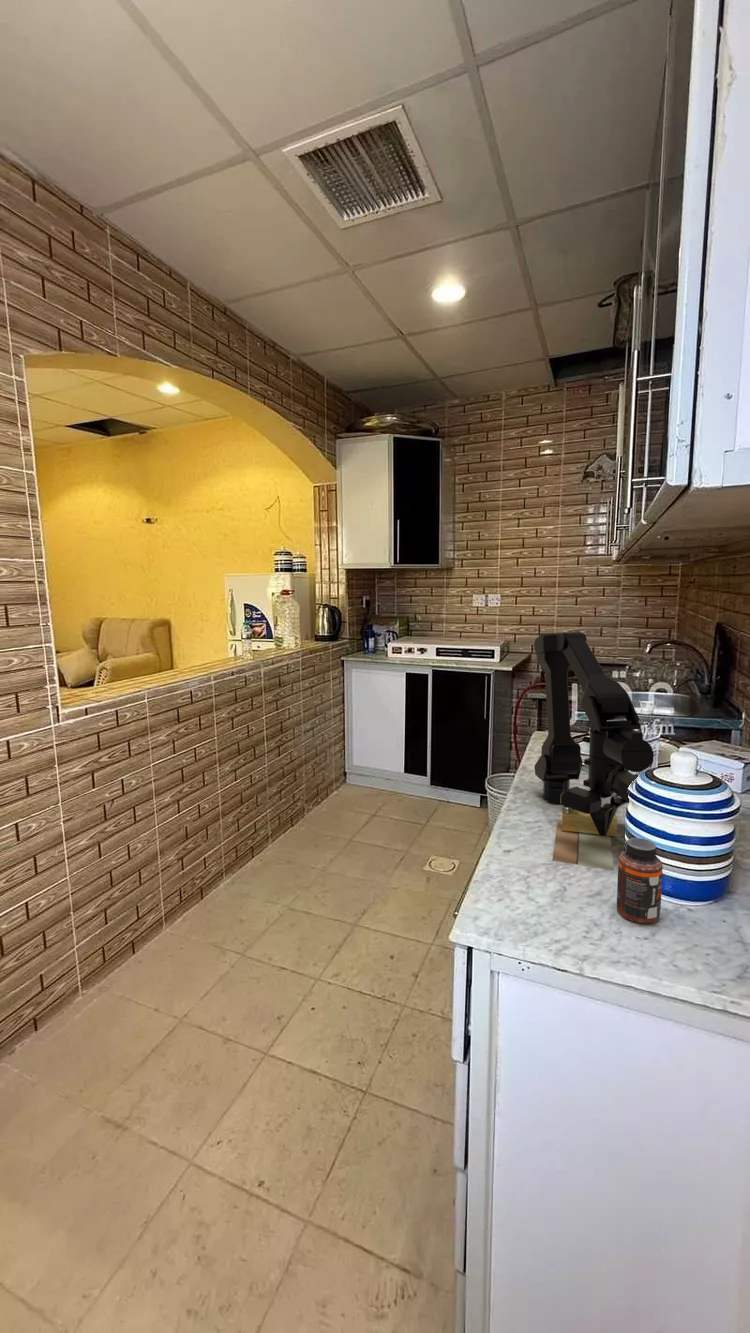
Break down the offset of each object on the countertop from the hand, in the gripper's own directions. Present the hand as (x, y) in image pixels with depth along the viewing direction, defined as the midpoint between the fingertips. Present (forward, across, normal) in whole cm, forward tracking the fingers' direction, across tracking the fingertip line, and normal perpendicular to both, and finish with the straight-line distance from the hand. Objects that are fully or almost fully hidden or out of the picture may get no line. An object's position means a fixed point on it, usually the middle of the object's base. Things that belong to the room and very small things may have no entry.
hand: (602, 835), depth 100 cm
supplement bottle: (+3, -14, -16) cm, 21 cm away
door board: (+2, -3, +2) cm, 5 cm away
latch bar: (+1, +1, +4) cm, 4 cm away
